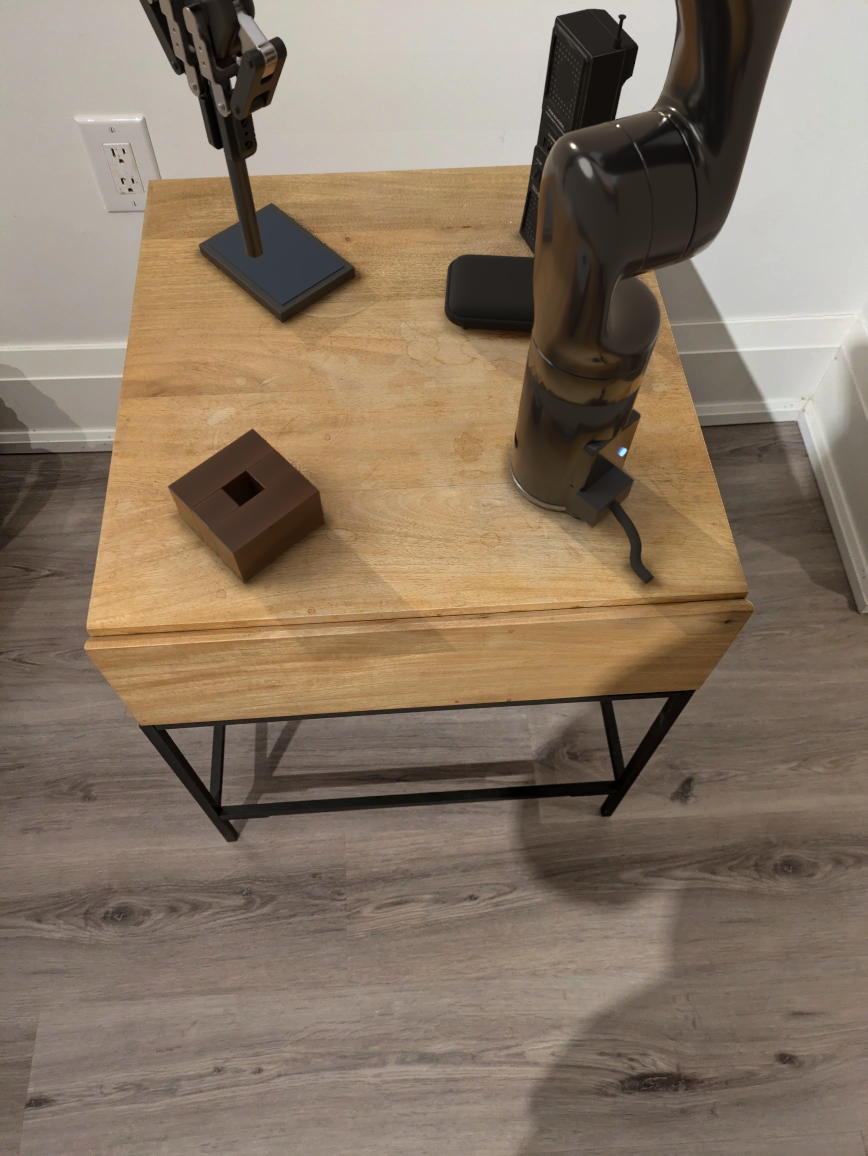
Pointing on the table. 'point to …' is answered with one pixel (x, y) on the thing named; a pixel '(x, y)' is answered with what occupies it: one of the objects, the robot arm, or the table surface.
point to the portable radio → (578, 89)
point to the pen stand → (248, 504)
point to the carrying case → (490, 293)
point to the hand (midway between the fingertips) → (233, 149)
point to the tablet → (279, 263)
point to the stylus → (242, 197)
